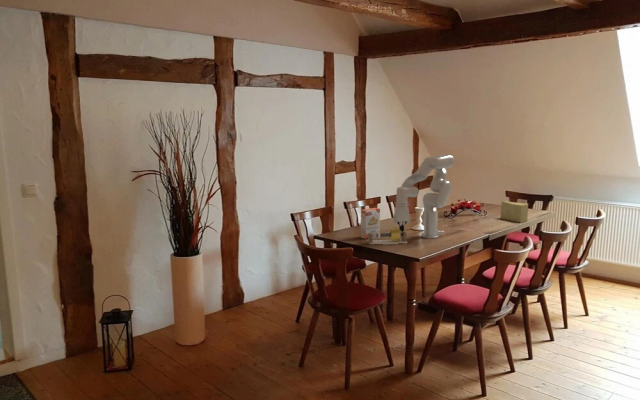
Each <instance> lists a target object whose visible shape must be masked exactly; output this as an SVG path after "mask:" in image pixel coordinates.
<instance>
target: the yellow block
mask: <svg viewBox="0 0 640 400" xmlns="http://www.w3.org/2000/svg"><path fill="white" fill-rule="evenodd" d="M388 229H389V230H388V233H391V236H390V237H389V238H388V240H392V241H399V240H400V239H401V236H400V233H401V231H400V229H399V227H389V228H388Z"/></svg>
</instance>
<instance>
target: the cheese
mask: <svg viewBox="0 0 640 400" xmlns="http://www.w3.org/2000/svg"><path fill="white" fill-rule="evenodd" d="M528 212H529V203H523V202H515V201H506V200H503V201H502V200H501V205H500V219H502V220H508V221H511V222H517V223H520V224H522V223H526V222H528V217H529V213H528Z"/></svg>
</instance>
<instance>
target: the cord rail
mask: <svg viewBox="0 0 640 400" xmlns="http://www.w3.org/2000/svg"><path fill="white" fill-rule="evenodd" d="M390 236H391V233H389V232H388V233H387V232H384V233H381V231H380V232H378V233H377V234H376V232H371V233H368V239H367V243H368V242H369V243H368V244H369V245H370V244H383V245H399V244H398V243H403V244H408V240H407V238H408V237H407V232H406V231H402V232H401V231H400V237H401V238H400V240H399V241H392V240H390V239H381V238H385V237H386V238H388V237H390ZM373 239H376V240H373ZM378 239H380V240H378Z"/></svg>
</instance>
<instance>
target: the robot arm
mask: <svg viewBox="0 0 640 400" xmlns="http://www.w3.org/2000/svg"><path fill="white" fill-rule="evenodd" d="M455 161H456V159H455V158H454V156H453V155H447V154H436V155H434V156H427V157H425V158H424V159H423V161H422V162H421V163H420V166H419V167H418V169H417V170H416V171H415V172H414V173H412V174H411V175H409V176H408V177H407V178H406V179H404V181H403V182H402V184H401V185H400V186H399V187H397V188H396V205H395V207H394V213H393V220H394V221H393V223H394V224H397V225H398V226H399V227H398V228H399V229H400V233H401V232H405V225H407V224H409V223H410V209H409V206H410V202H409V201H408V200H409V199H408V198H416V197H418V195H419V193H420V190H419V188H418V187H416V186H414V185H415V184H417V183H420V182H422V181H425V180H427V178H428V177H429V175H430V174H431V173H432V170H435V173H434V176H433V178H432V180H431V183H430V185H429V189H430V191H431V192H426V193H425V194H424V195H423V197H422V204H423V233H422V234H421V237H422V238H426V239H436V238H439V237H440V234H445V231H444V230H438V217H439V216H438V215H439V214H438V209H441V208H444V207H445V205H446V204H447V202H448V200H449V197H450V195H451V192H452V187H453V186H452V184H451V182H450V181H449V180H447V177H448V171H447V169H449V168H452V167H453V166H454V165H455Z"/></svg>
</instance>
